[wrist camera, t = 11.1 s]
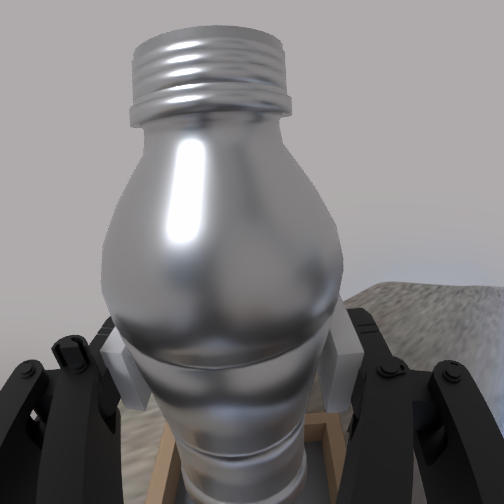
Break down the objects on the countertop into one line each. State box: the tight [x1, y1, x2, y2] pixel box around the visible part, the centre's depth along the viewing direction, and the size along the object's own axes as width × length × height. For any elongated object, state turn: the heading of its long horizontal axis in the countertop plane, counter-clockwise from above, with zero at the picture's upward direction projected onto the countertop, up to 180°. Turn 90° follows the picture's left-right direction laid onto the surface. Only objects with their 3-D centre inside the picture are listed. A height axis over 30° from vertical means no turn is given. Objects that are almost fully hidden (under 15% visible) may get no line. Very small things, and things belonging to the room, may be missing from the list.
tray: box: [145, 412, 347, 504], centre depth 14 cm, size 12×12×3 cm
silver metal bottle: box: [101, 25, 343, 504], centre depth 10 cm, size 6×7×20 cm
